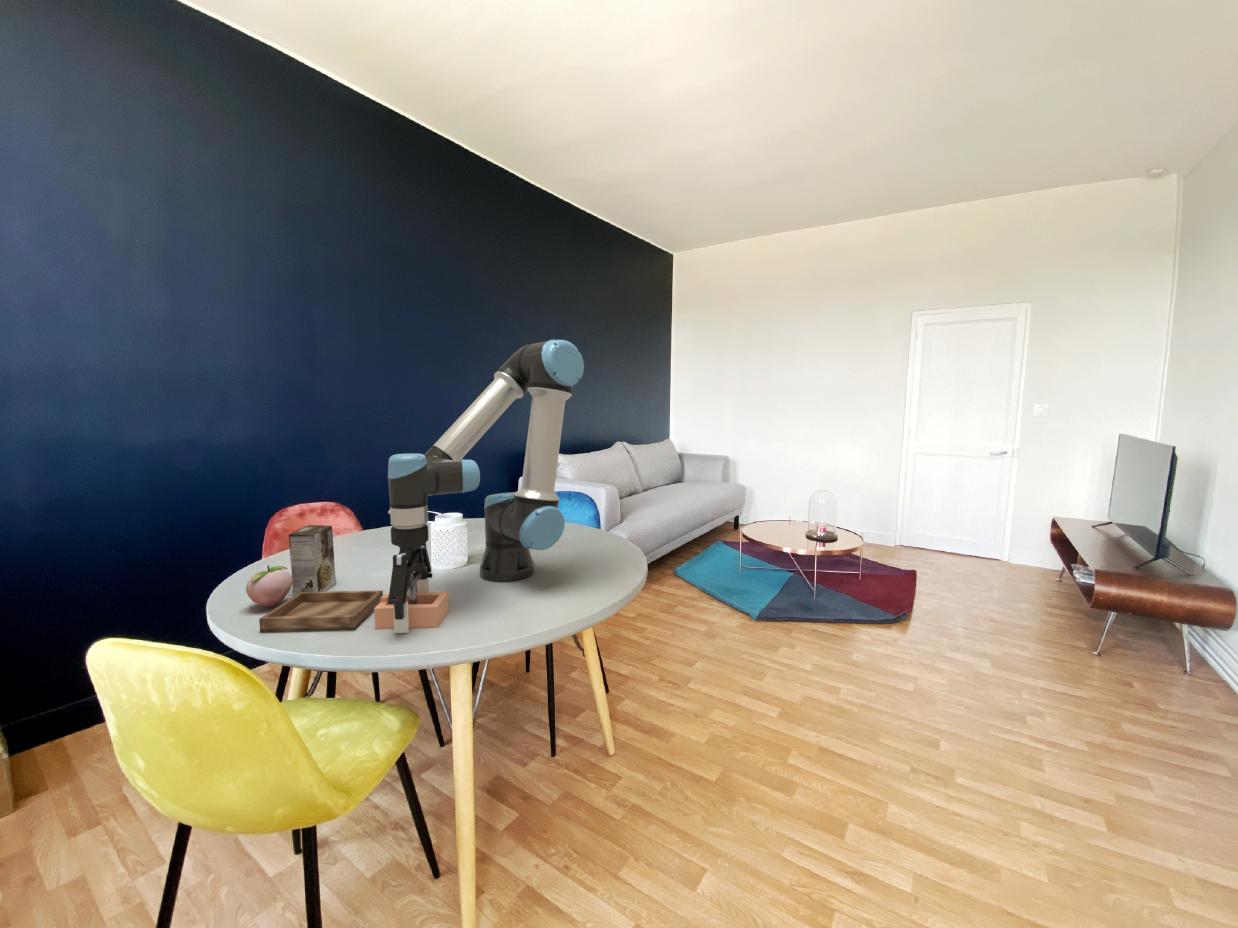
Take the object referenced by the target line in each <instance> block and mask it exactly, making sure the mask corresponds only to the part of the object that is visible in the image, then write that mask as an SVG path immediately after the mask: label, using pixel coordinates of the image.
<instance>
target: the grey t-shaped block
mask: <svg viewBox="0 0 1238 928" xmlns="http://www.w3.org/2000/svg"><path fill="white" fill-rule="evenodd" d="M420 578H421V572H413V573H412V574H411V579H410V583H409V588H408V598H409V604H418V602H417V581H418V580H419V579H420Z"/></svg>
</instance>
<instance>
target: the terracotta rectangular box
mask: <svg viewBox="0 0 1238 928" xmlns="http://www.w3.org/2000/svg"><path fill="white" fill-rule="evenodd" d="M397 598H398V597H397ZM388 599H389V593H383V596H382V597H381V598H380V603H379V604H378V605H377V606H376V607H375V608H374V612H373V613H374V628H375V630H379V629H380V630H381V629H382V630H384V629H385V630H386V629H387V630H389V629H394V611H393V604H388ZM407 601H408V616H409V629H420V628H421V629H423V628H424V629H426V628H439V626H440V625H441V623H442V621H443V620H444V618H445V617H446V615H447V614H448V613H449V611H450V595H449V591H429V592H417V602H418V604H409V598H408V593H407V598H406V602H407Z"/></svg>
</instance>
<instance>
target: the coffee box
mask: <svg viewBox="0 0 1238 928" xmlns="http://www.w3.org/2000/svg"><path fill="white" fill-rule="evenodd" d="M288 542H289V543H288V545H289V558H290V569H291V576H292V578H293V584H292V597H294V596H295V595H297V594H298V593H300V592H328V591H329V589H331V588H332V587H333V586H335V585H336V584H337V579H336V567H335V551H334V536H333V525H323V524H322V525H321V524H320V525H318V524H316V525H315V524H313V525H312V524H310V525H309V524H308V525H306V526H304V527H301V528H299V529H297V530H295V531H293V532H290V533H289V534H288Z"/></svg>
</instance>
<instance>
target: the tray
mask: <svg viewBox="0 0 1238 928" xmlns="http://www.w3.org/2000/svg"><path fill="white" fill-rule="evenodd" d="M383 595H384V591H383V590H346V591H345V590H340V591H337V590H336V591H335V590H334V591H325V592H300V593H298V594H297V595H295V596H294V597H293V596H292V597H290V598H289V599H288V600H286V601H284V602H283V603H281V604H280V605H279V606H277V607H275V608H274V609H272V610H271V611H269V612H268V613H266V614H264V615H263V616H261V617H260V618H259V619H258V621H259V633H261V634H262V633H263V634H264V633H265V634H266V633H267V634H268V633H269V634H270V633H303V632H307V633H309V632H310V633H311V632H339V631H340V632H343V631H344V632H346V631H356V630H357V629H358V628H359V627H360V626H361V625H362V624H363V623H364V622H365V621H366V620H367V619H368V618H369V617H370V616H372V615H373V613H374V608H375V607H376V606H377V605H378V604H379V603H380V598H381V597H382V596H383Z"/></svg>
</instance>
